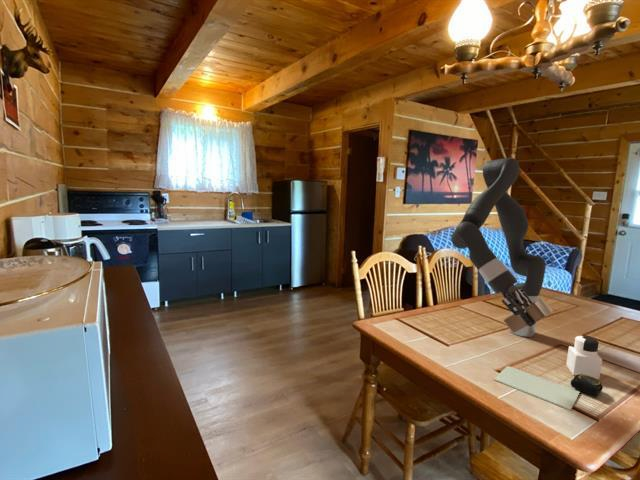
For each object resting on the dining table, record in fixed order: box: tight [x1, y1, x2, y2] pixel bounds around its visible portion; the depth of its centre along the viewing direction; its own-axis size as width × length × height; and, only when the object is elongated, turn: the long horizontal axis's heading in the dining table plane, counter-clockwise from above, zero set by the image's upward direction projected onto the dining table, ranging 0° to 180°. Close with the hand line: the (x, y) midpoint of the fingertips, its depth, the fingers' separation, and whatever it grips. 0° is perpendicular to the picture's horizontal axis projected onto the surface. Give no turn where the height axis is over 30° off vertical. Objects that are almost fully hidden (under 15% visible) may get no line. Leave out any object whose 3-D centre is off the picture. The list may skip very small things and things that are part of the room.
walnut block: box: [503, 297, 554, 334], centre depth 106 cm, size 4×4×12 cm
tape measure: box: [570, 374, 604, 398], centre depth 104 cm, size 7×7×4 cm
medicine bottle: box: [565, 335, 603, 380], centre depth 114 cm, size 7×7×12 cm
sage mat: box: [493, 365, 581, 411], centre depth 106 cm, size 12×20×1 cm, turn 44°
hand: (535, 322), depth 104 cm, fingers closed on walnut block, 4 cm apart
